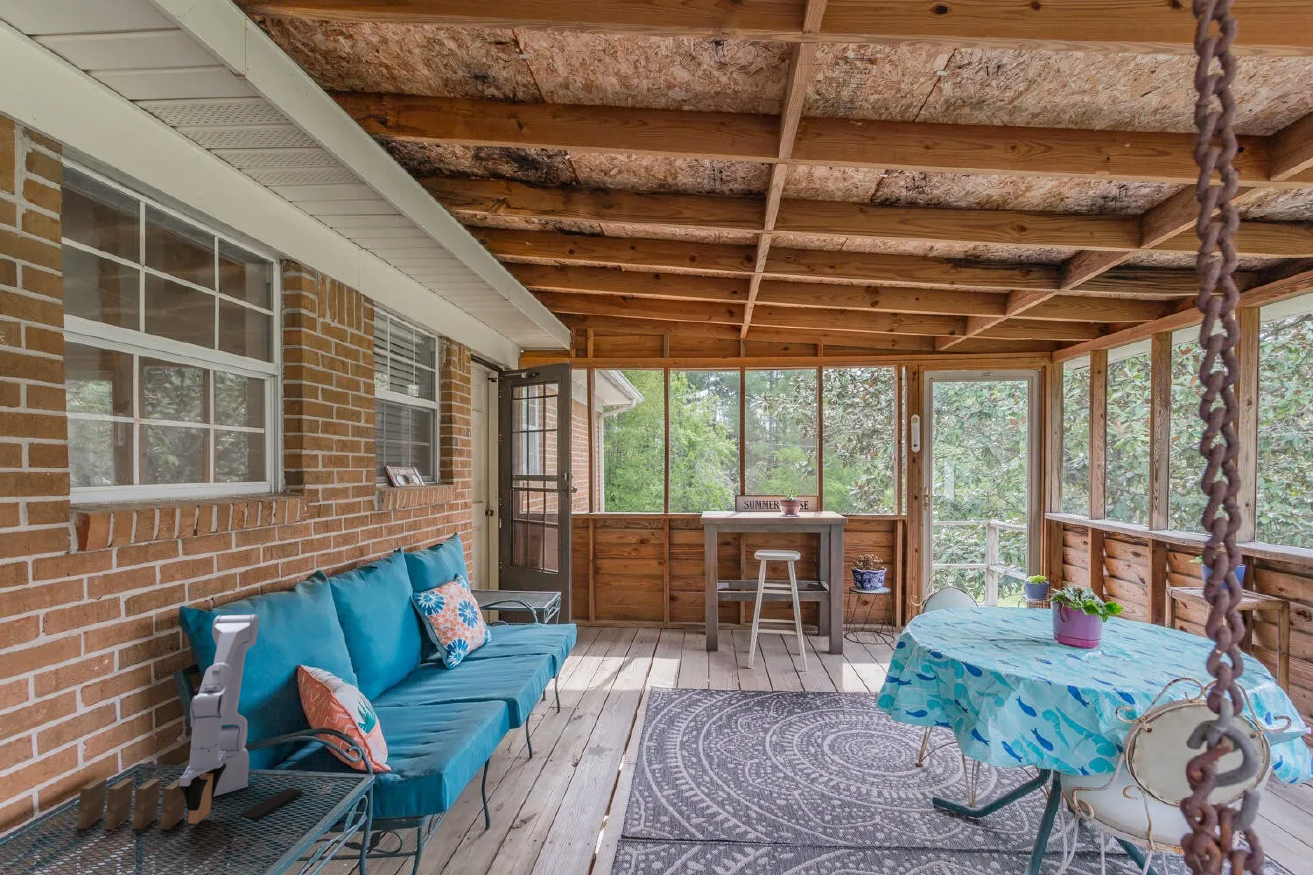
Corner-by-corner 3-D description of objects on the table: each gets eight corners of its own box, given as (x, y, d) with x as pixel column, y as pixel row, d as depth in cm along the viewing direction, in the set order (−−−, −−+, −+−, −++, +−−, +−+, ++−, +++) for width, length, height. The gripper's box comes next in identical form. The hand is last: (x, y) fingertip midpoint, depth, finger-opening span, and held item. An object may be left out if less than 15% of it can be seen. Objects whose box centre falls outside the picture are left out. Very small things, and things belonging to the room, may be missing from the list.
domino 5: (210, 811, 155) (213, 773, 156) (197, 823, 150) (200, 782, 151) (201, 812, 155) (204, 773, 156) (188, 823, 150) (191, 782, 151)
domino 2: (129, 817, 154) (133, 778, 155) (114, 829, 149) (117, 788, 150) (121, 817, 154) (124, 778, 154) (104, 829, 149) (108, 788, 149)
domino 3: (156, 817, 154) (160, 778, 155) (141, 829, 149) (145, 788, 150) (147, 817, 154) (151, 778, 155) (132, 829, 149) (136, 788, 150)
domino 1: (103, 817, 153) (106, 778, 154) (86, 829, 148) (90, 788, 149) (94, 817, 153) (97, 778, 154) (76, 829, 148) (80, 788, 149)
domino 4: (183, 817, 155) (186, 778, 155) (169, 829, 150) (172, 788, 150) (174, 817, 155) (177, 778, 155) (160, 829, 150) (163, 788, 150)
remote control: (253, 826, 154) (304, 795, 169) (253, 818, 154) (304, 788, 169) (237, 822, 156) (289, 791, 170) (237, 814, 156) (289, 784, 170)
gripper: (204, 757, 147) (199, 819, 146) (240, 732, 161) (235, 789, 161) (171, 757, 146) (166, 819, 146) (210, 732, 161) (205, 789, 160)
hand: (200, 803), depth 153 cm, fingers closed on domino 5, 5 cm apart
